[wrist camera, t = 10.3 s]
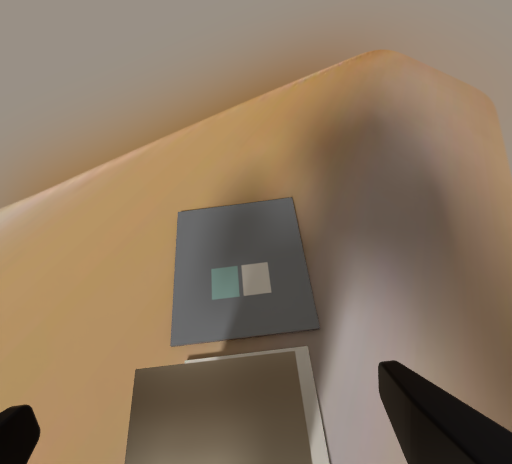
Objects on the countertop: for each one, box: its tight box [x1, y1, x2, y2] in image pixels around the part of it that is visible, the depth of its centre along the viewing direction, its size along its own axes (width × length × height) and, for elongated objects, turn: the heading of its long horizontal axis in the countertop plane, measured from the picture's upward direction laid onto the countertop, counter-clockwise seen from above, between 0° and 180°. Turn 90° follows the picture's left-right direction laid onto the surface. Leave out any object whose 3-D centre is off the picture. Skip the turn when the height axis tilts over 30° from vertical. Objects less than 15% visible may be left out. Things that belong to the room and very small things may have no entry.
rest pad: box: [185, 346, 329, 464], centre depth 16 cm, size 8×8×1 cm
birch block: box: [125, 351, 313, 464], centre depth 12 cm, size 5×5×10 cm
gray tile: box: [171, 197, 320, 347], centre depth 21 cm, size 11×10×1 cm
